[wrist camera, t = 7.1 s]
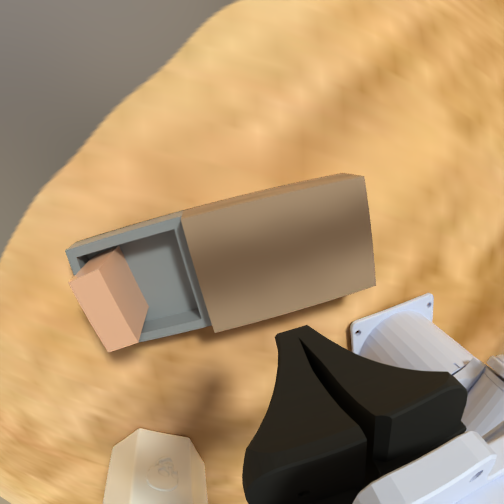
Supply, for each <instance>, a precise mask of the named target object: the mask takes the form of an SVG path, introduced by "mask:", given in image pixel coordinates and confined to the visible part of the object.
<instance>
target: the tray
mask: <svg viewBox="0 0 504 504" xmlns="http://www.w3.org/2000/svg"><path fill="white" fill-rule="evenodd" d="M182 214H183V211H179V212H175V213H172V214H168V215H165V216H161V217H157V218H154V219H150V220H147V221H143V222H140V223H137V224H133V225H130V226H126V227H123V228H120V229H116V230H113V231H110V232H106V233H103V234H100V235H97V236H93V237H90V238H87V239H84V240H81V241H78V242H76V243H74V244H73V245H72V246H70V247H69V248H68V249H66V250H65V252H66V255H67V257H68V260H69V263H70V266H71V268H72V271H73V274H74V276H75V275H76V274H77V273H78V272H79V271H80V269H81V268H82V267H83V266H84V265H85V264H86V263H87V262H88V261H89V260H90V259H91V258H92V257H93V256H96V255H98V254H100V253H102V252H104V251H107V250H109V249H111V248H113V247H116V246H118V245H119V247H120V249H121V251H122V253H123V255H124V257H125V259H126V262H127V264H128V266H129V268H130V270H131V272H132V274H133V276H134V278H135V280H136V282H137V284H138V286H139V288H140V290H141V292H142V294H143V296H144V298H145V300H146V302H147V304H148V306H149V307H148V311H147V314H146V318H145V321H144V324H143V328H142V331H141V335H140V339H139V342H143V341H148V340H152V339H157V338H161V337H166V336H170V335H174V334H179V333H183V332H187V331H191V330H195V329H199V328H203V327H207V326H211V325H212V323H211V320H210V317H209V314H208V310H207V307H206V304H205V301H204V298H203V294H202V291H201V288H200V285H199V281H198V278H197V275H196V271H195V268H194V265H193V261H192V258H191V254H190V251H189V247H188V244H187V240H186V237H185V233H184V230H183V226H182V222H181V217H182ZM139 342H138V343H139Z"/></svg>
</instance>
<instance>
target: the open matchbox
mask: <svg viewBox="0 0 504 504" xmlns="http://www.w3.org/2000/svg"><path fill="white" fill-rule="evenodd" d="M181 222H182V226H183V230H184V233H185V237H186V240H187V244H188V247H189V251H190V254H191V258H192V261H193V265H194V268H195V271H196V275H197V278H198V281H199V285H200V288H201V291H202V294H203V298H204V301H205V304H206V307H207V310H208V314H209V317H210V320H211V323H212V326H213V329H214V332H215V333H217V332H221V331H225V330H228V329H232V328H236V327H240V326H244V325H247V324H251V323H255V322H259V321H262V320H266V319H269V318H273V317H276V316H280V315H283V314H287V313H290V312H294V311H297V310H301V309H304V308H307V307H311V306H314V305H317V304H320V303H324V302H327V301H330V300H333V299H337V298H340V297H343V296H346V295H349V294H352V293H355V292H358V291H361V290H364V289H367V288H370V287H373V286H376V279H375V265H374V253H373V243H372V233H371V224H370V215H369V207H368V200H367V192H366V185H365V179H364V176H359V175H353V174H346V173H340V174H335V175H330V176H325V177H321V178H316V179H311V180H307V181H302V182H297V183H293V184H288V185H284V186H279V187H275V188H271V189H266V190H262V191H258V192H254V193H249V194H245V195H241V196H237V197H233V198H229V199H225V200H221V201H217V202H213V203H209V204H205V205H202V206H198V207H194V208H190V209H187V210H183V214H182V217H181Z"/></svg>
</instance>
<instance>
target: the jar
mask: <svg viewBox="0 0 504 504" xmlns="http://www.w3.org/2000/svg"><path fill="white" fill-rule="evenodd" d="M103 504H208V498H207V487H206V475H205V464H204V462H203V460H202V459H201V457H200V455H199V454H198V452H197V450H196V448H195V447H194V445H193V443H192V441H191V440H190V438H189V437H184V436H178V435H172V434H167V433H162V432H157V431H152V430H147V429H142V428H139V429H137V430H136V431H134V432H133V433H132V434H130V435H129V436H127V437H126V438H125V439H123V440H122V441H120V442H119V443H117V444H116V445H115V446H113V448H112V453H111V459H110V464H109V469H108V475H107V481H106V487H105V493H104V499H103Z"/></svg>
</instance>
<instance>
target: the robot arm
mask: <svg viewBox="0 0 504 504" xmlns="http://www.w3.org/2000/svg"><path fill="white" fill-rule="evenodd" d="M433 299H434V298H433V295H432V294H430V293H427V294H424V295H422V296H419V297H417V298H414V299H412V300H409V301H407V302H404V303H402V304H399V305H396V306H394V307H391V308H389V309H386V310H383V311H381V312H378V313H375V314H372V315H370V316H367V317H364V318H361V319H358V320H355V321H354V322H353V323H352V324H351V326H350V331H351V345H352V352H351V351H349V350H347V349H345V348H343V347H341V346H339V345H338V344H336V343H334V342H332V341H331V340H329V339H328V338H326V337H324V336H323V335H321V334H320V333H318V332H317V331H315V330H314V329H312V328H311V327H309V326H307V325H305V326H302V327H299V328H296V329H292V330H289V331H285V332H282V333H278V334H277V335H276V336H275V339H276V344H277V348H278V369H277V376H276V382H275V387H274V391H273V395H272V398H271V401H270V404H269V407H268V410H267V413H266V415H265V417H264V419H263V421H262V423H261V425H260V427H259V429H258V431H257V433H256V435H255V436H254V438H253V439H252V441H251V442H250V444H249V446H248V447H247V449H246V452H245V458H244V464H243V474H242V479H243V488H244V493H245V497H246V500H247V502H248V504H504V355H502V354H500V355H496V356H495V357H494V356H491V357H490V358H489V359H488V361H487V362H486V363H487V364H488V365H489V366H490V367H492V368H493V369H494V370H495V371H496V372H495V371H494V370H492V369H491V368H490V367H488V366H487V365H485V364H484V363H483V362H481V361H480V360H478V359H477V358H476V357H474V356H473V355H472V354H470V353H469V352H468V351H467V350H466V349H464V348H463V347H462V346H461V345H460V344H458V343H457V342H456V341H455V340H453V339H452V338H451V337H450V336H448V335H447V334H446V333H445V332H443V331H442V330H441V329H440V328H438V327H437V326H436V325H435V324H433V323H432V317H433ZM428 303H429V304H428ZM427 304H428V305H427ZM358 330H359V332H358V333H356V331H358ZM355 333H356V334H355Z"/></svg>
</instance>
